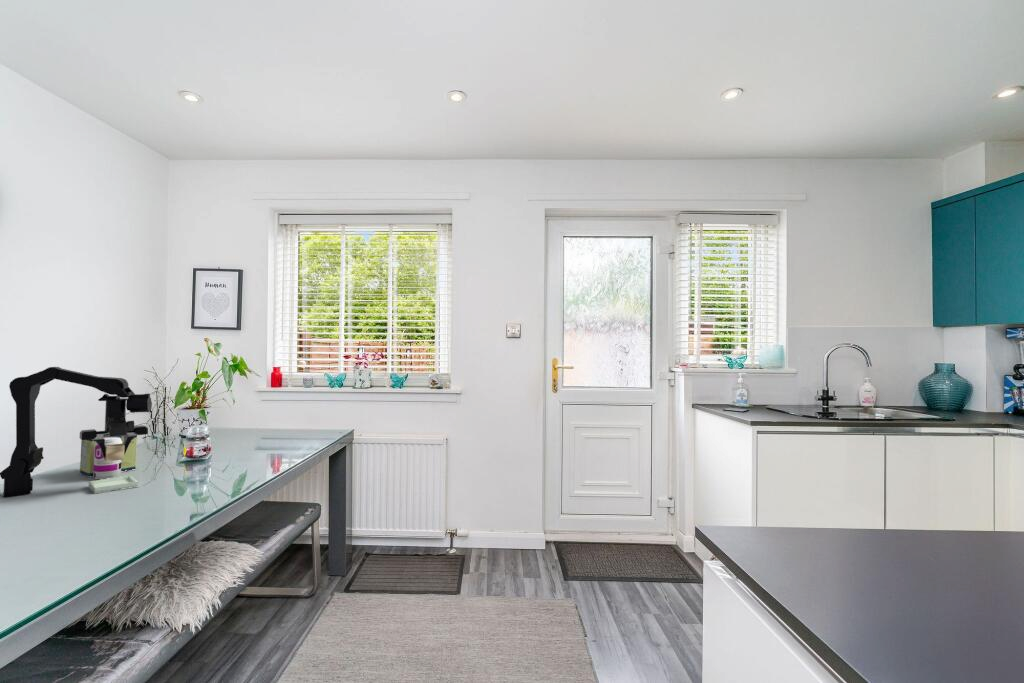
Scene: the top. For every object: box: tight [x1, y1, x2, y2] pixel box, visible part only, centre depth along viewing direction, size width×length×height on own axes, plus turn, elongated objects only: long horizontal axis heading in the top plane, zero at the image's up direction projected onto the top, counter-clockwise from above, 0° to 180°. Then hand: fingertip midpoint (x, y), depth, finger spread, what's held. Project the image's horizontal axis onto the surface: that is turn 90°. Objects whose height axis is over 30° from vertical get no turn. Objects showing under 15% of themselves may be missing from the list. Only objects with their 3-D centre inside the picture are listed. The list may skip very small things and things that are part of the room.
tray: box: [88, 475, 139, 494], centre depth 177 cm, size 12×12×2 cm
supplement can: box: [92, 437, 122, 480], centre depth 190 cm, size 8×8×15 cm
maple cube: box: [104, 444, 125, 462], centre depth 177 cm, size 5×5×5 cm
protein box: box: [79, 434, 138, 478], centre depth 199 cm, size 10×16×16 cm
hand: (114, 456), depth 177 cm, fingers closed on maple cube, 5 cm apart
